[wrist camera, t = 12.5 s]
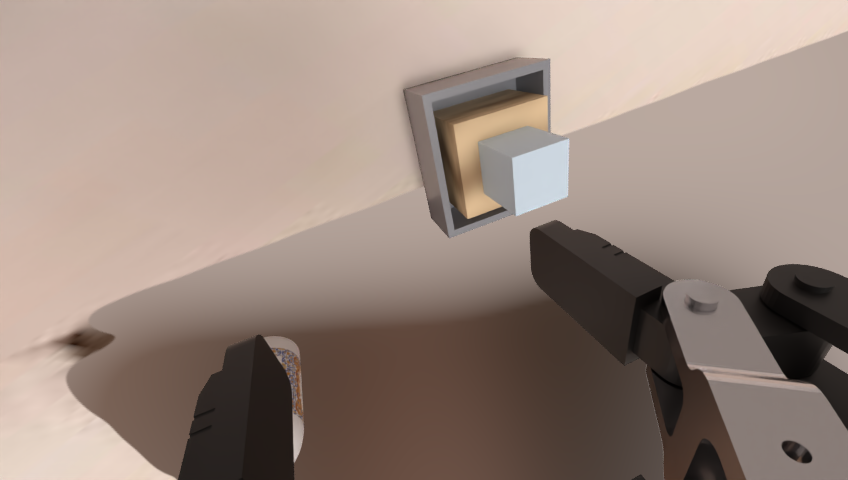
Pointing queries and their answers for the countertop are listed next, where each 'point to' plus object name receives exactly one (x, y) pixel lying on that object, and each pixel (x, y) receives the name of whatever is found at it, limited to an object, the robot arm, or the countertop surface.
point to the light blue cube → (525, 168)
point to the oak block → (477, 123)
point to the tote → (454, 91)
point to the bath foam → (291, 382)
